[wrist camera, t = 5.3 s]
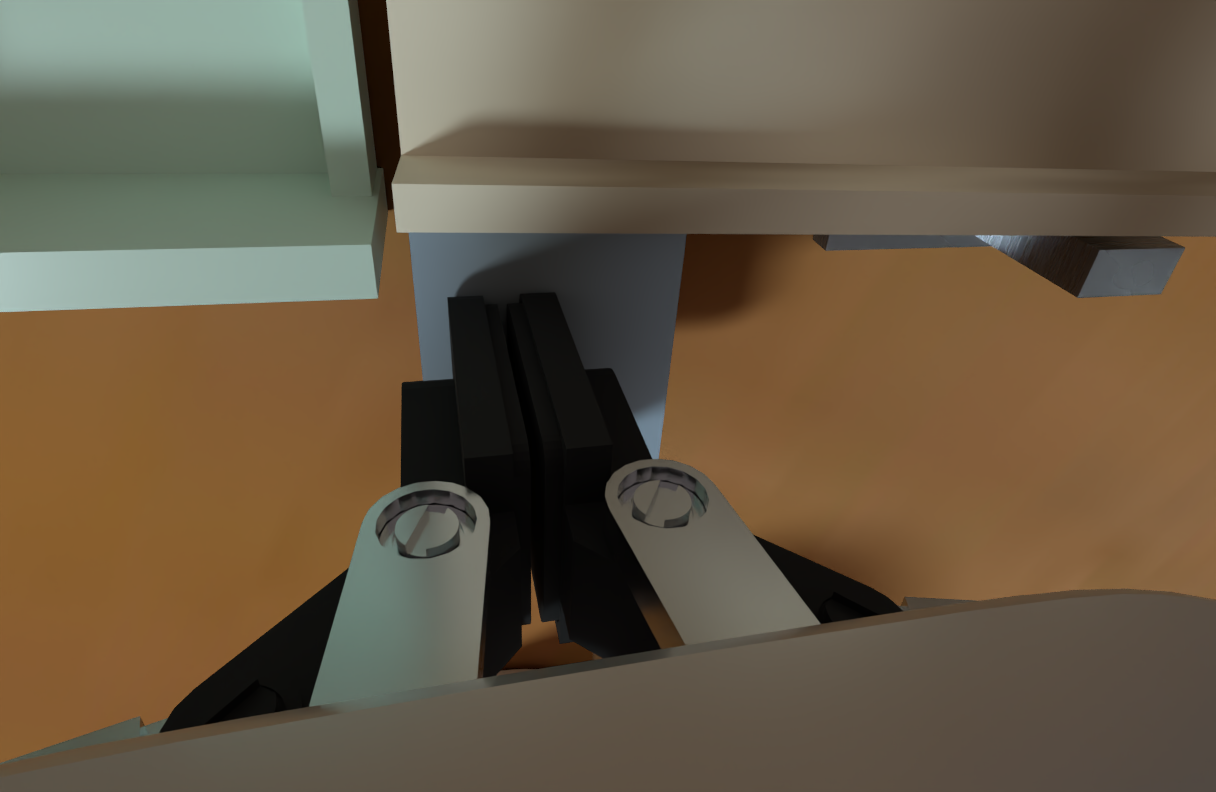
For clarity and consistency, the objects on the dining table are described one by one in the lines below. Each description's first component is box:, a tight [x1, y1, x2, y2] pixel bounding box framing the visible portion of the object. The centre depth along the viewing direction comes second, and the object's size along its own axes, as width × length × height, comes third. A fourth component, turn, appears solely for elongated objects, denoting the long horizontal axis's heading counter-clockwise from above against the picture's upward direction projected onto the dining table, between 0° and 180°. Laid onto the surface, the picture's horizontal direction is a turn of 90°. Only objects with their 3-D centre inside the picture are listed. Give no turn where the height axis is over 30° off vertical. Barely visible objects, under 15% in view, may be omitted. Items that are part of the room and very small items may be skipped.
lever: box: [386, 0, 1216, 459], centre depth 10 cm, size 22×13×3 cm, turn 86°
